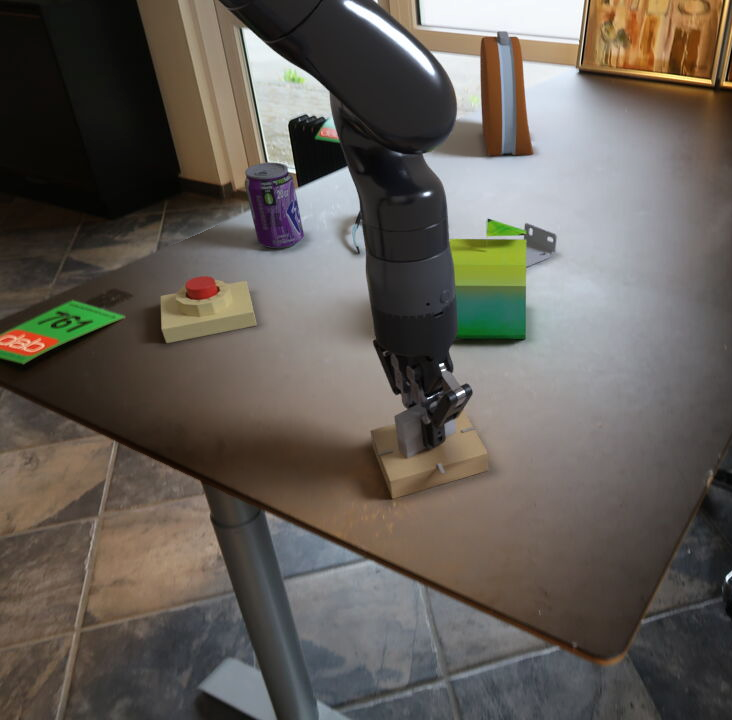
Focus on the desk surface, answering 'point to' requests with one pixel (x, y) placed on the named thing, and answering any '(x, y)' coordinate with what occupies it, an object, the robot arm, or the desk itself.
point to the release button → (201, 288)
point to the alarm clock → (503, 96)
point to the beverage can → (273, 205)
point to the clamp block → (429, 459)
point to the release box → (206, 312)
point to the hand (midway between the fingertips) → (428, 438)
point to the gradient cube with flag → (491, 284)
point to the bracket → (538, 244)
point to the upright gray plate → (414, 430)
